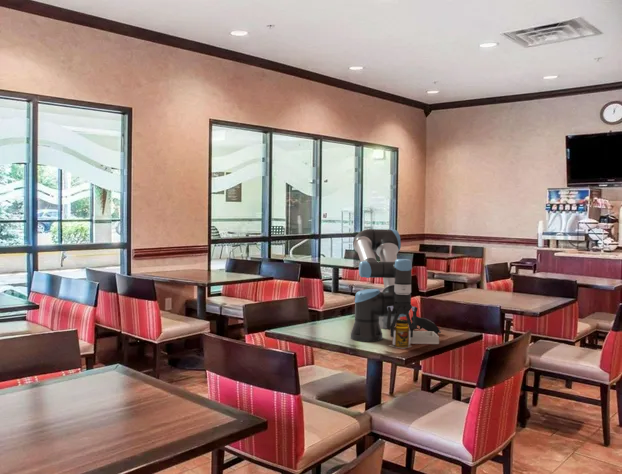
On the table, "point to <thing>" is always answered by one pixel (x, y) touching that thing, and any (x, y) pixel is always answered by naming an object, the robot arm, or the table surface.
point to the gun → (426, 325)
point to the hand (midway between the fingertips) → (401, 344)
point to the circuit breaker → (385, 322)
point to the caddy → (424, 337)
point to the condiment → (401, 334)
